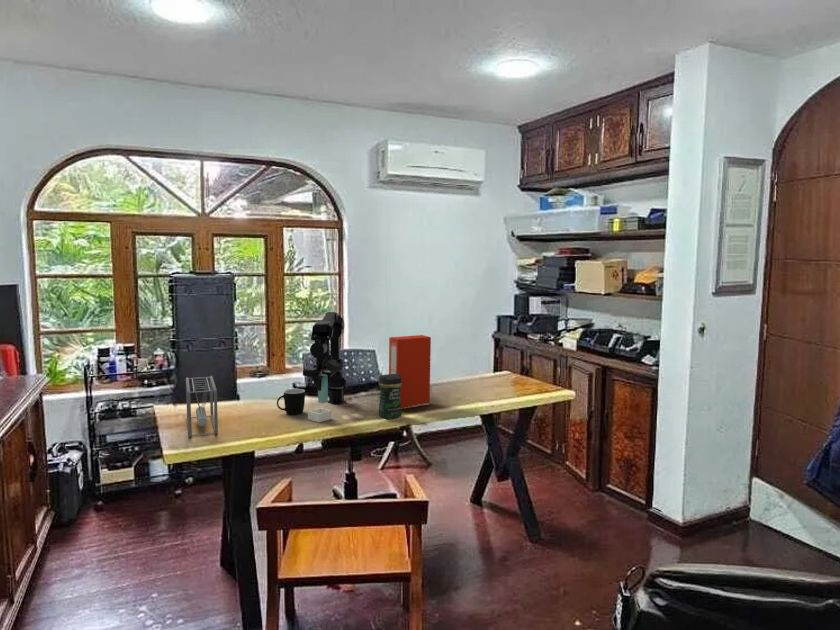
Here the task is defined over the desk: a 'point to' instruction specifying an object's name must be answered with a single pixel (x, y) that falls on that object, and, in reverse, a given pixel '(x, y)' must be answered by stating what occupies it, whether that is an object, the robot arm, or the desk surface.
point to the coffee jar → (390, 396)
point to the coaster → (353, 417)
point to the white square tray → (319, 415)
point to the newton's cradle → (201, 410)
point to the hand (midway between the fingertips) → (322, 389)
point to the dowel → (323, 390)
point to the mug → (293, 401)
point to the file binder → (411, 367)
